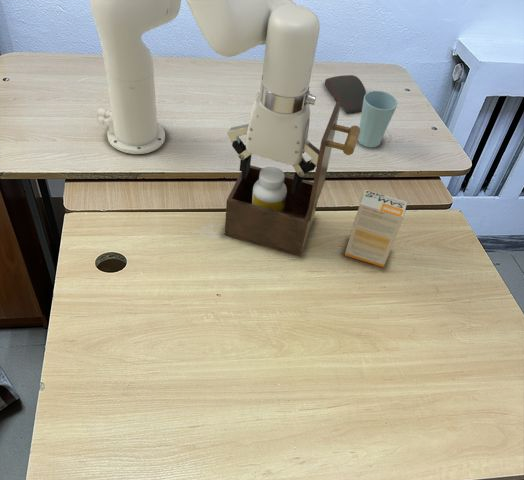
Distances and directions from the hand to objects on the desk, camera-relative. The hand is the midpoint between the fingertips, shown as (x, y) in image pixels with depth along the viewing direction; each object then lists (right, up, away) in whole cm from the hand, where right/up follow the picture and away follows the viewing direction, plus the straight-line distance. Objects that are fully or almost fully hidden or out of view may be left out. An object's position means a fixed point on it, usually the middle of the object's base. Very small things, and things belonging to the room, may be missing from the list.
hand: (270, 181), depth 100 cm
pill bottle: (-1, -6, +8) cm, 10 cm away
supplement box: (+19, -12, +7) cm, 24 cm away
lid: (+9, +1, -6) cm, 11 cm away
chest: (0, -6, +9) cm, 11 cm away
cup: (+24, +19, +29) cm, 42 cm away
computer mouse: (+20, +34, +39) cm, 55 cm away
